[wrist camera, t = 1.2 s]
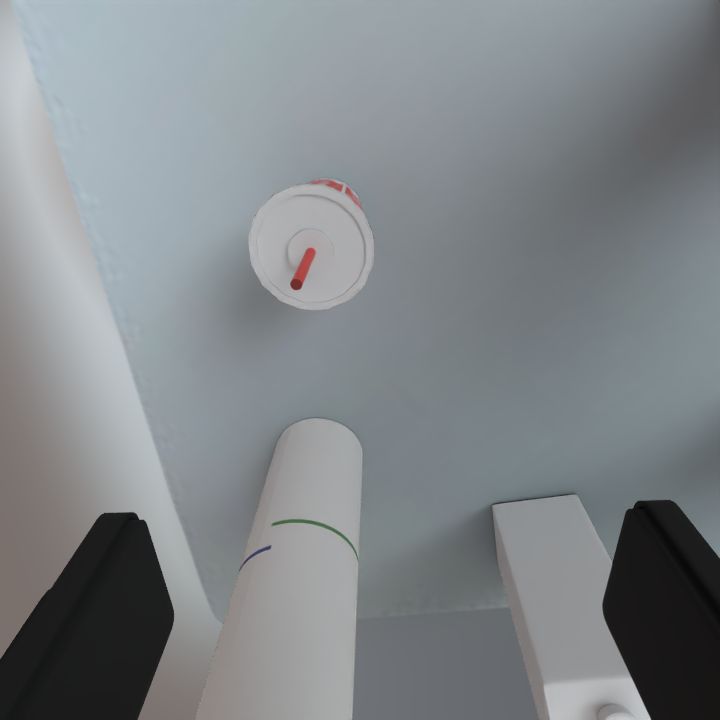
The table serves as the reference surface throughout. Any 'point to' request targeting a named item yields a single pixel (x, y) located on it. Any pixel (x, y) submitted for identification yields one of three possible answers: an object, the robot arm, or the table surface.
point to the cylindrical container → (295, 588)
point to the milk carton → (563, 610)
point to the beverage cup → (312, 245)
